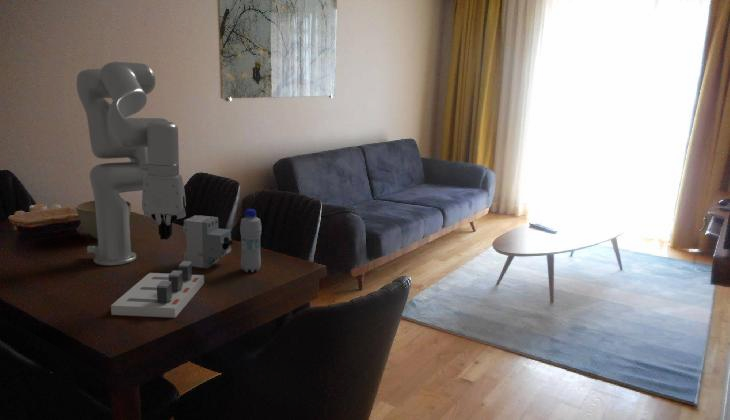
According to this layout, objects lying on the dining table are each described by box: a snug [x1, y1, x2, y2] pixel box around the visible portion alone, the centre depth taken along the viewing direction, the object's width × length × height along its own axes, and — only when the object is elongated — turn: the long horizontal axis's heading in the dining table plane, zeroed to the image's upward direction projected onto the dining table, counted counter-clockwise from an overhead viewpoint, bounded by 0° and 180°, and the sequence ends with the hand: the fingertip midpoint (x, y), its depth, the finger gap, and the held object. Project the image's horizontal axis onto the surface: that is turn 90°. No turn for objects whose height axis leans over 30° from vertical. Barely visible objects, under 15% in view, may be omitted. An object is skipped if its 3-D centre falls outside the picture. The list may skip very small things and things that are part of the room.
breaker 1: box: [157, 281, 172, 303], centre depth 136 cm, size 2×4×4 cm, turn 0°
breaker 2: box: [178, 260, 193, 281], centre depth 152 cm, size 2×4×4 cm, turn 0°
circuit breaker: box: [182, 214, 234, 269], centre depth 172 cm, size 8×14×15 cm, turn 79°
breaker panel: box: [110, 272, 205, 318], centre depth 145 cm, size 16×24×3 cm, turn 0°
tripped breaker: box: [168, 269, 183, 291], centre depth 144 cm, size 2×4×4 cm, turn 0°
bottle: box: [239, 208, 263, 273], centre depth 167 cm, size 7×7×20 cm
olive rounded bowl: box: [75, 200, 132, 240], centre depth 196 cm, size 18×18×12 cm
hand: (165, 237), depth 142 cm, fingers closed
